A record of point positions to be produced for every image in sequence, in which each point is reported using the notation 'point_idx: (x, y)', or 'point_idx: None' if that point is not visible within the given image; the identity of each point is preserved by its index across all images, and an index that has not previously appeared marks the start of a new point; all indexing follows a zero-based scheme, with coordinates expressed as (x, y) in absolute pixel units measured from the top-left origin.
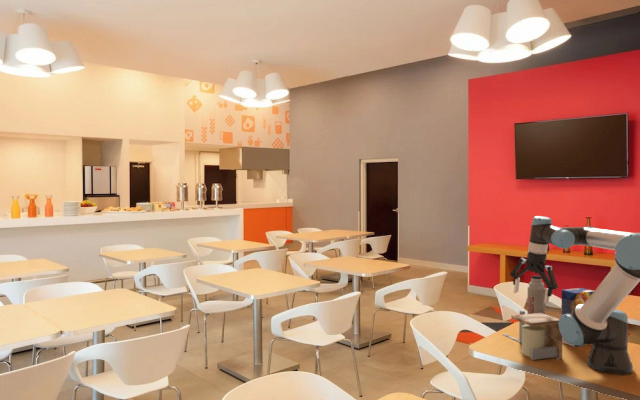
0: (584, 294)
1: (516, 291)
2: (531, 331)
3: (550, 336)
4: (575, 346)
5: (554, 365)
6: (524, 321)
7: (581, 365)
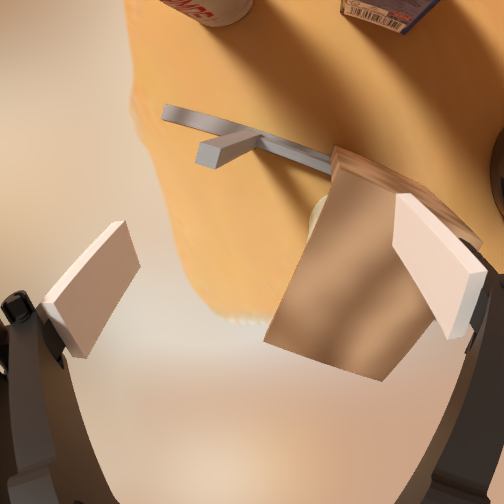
0: None
1: (131, 256)
2: None
3: None
4: (404, 33)
5: None
6: (345, 367)
7: (482, 214)
